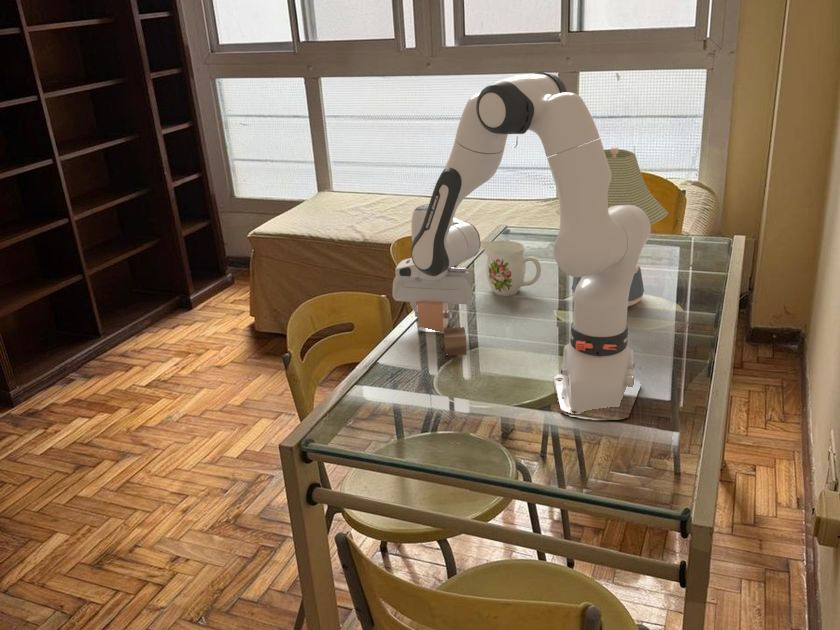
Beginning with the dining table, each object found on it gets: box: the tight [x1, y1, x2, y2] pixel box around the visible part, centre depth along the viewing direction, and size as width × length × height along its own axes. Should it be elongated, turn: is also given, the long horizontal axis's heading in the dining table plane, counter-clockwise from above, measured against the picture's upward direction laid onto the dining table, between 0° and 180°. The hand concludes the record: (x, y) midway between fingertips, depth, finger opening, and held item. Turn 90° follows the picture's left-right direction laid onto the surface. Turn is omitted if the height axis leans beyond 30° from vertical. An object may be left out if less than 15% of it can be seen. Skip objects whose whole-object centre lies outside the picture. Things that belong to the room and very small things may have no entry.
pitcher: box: [480, 240, 542, 297], centre depth 224 cm, size 11×18×14 cm, turn 67°
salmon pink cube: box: [416, 301, 449, 332], centre depth 205 cm, size 6×6×8 cm
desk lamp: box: [555, 146, 669, 307], centre depth 209 cm, size 26×28×42 cm
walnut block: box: [443, 326, 467, 356], centre depth 194 cm, size 5×5×5 cm
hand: (433, 317), depth 206 cm, fingers closed on salmon pink cube, 6 cm apart
